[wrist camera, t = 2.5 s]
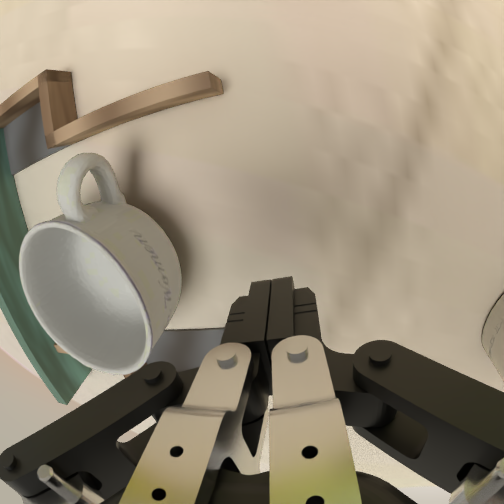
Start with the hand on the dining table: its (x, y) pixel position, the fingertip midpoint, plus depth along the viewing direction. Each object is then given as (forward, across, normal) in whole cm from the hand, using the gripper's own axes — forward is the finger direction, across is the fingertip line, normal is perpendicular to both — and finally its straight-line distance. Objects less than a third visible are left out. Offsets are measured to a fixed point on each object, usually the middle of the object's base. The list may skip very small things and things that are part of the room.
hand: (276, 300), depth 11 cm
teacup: (+10, +11, -1) cm, 15 cm away
